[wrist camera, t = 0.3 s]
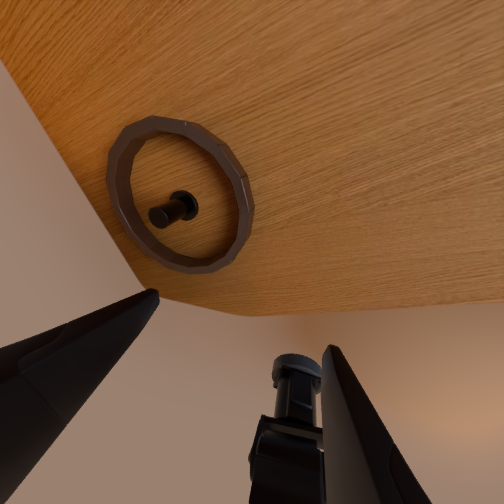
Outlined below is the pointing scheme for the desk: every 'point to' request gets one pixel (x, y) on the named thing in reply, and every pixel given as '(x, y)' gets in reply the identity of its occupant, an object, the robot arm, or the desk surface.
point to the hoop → (123, 200)
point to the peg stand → (174, 210)
